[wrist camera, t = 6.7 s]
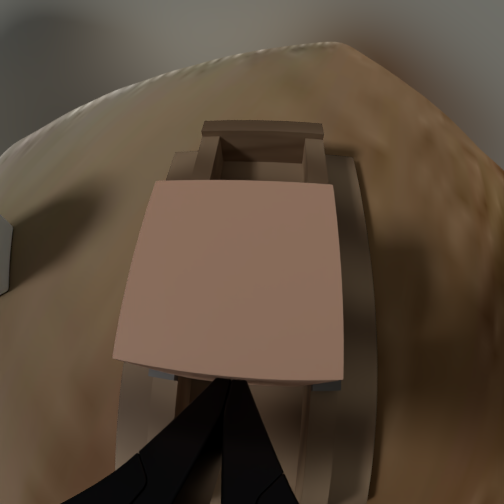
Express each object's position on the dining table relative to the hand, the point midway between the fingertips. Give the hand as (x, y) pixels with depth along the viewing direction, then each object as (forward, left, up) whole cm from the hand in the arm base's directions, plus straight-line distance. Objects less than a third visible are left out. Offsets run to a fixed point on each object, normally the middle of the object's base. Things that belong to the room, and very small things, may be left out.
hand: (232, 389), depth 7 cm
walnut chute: (+4, -2, -8) cm, 9 cm away
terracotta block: (+3, -1, -7) cm, 7 cm away
